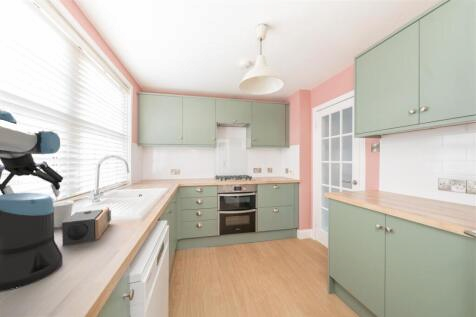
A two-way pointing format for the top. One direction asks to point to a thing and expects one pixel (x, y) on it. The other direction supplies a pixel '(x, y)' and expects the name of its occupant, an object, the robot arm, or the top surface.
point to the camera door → (102, 222)
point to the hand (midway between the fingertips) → (36, 197)
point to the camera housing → (80, 227)
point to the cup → (62, 212)
